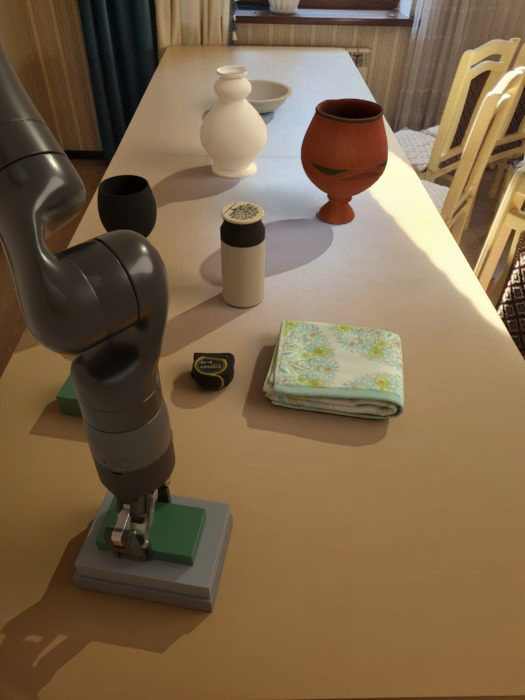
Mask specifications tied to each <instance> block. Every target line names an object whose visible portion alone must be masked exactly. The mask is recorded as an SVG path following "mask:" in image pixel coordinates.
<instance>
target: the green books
mask: <svg viewBox="0 0 525 700" xmlns="http://www.w3.org/2000/svg"><path fill="white" fill-rule="evenodd" d="M55 398H56V400H57V404H58V409H59V411H60V414H61V415H68V416H74V417H82V418H83V416H82V412H81V409H80V406H79V403H78V400H77V397H76V394H75V391H74V388H73V384H72V381H71V375H70V374H69V375H68V377H67V378H66V379H65V382H63V385H62V386H61V388H60V389H59V390H58V392H57V394H56V396H55Z"/></svg>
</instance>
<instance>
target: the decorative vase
mask: <svg viewBox="0 0 525 700" xmlns="http://www.w3.org/2000/svg"><path fill="white" fill-rule="evenodd" d="M216 74H217V76H219V77H218V78H217V79H216V80H215V82H214V84H213V91H214V93H215V94H216V96H218V98H219V100H218V101H217V102H216V103H214V105H213V106H212V107H211V108H210V109H209V111H208V112H207V114H206V115H205V117H204V119H203V120H202V123H201V126H200V130H199V140H200V143H201V146H202V148H203V150H205V152H206V153H207V154H208V156H209V157H210V158H211V159H212V160H213V161H214V162H213V163H212V164H211V172H212V173H213V174H215V175H216V176H218V177H222V178H225V179H243V178H248V177H250V176H252V175H254V174H255V173H257V171H258V165H257V163H256V162H255V160H256V159H257V158H258V156H259V155H260V154H261V153H262V152H263V150H264V149H265V147H266V144H267V142H268V128H267V126H266V123H265V121H264V119H263V118H262V116H261V114H260V113H258V112H257V111H256V109H255V108H254V107H253V106H252V105H251V104H250V103H249V102H248V101H247V100H246V99H245V98H246V97H247V96H248V95H249V93H250V92H251V84H250V82H249V81H248V80H249V79H247V78H246V77H245V76H247V75H248V68H246V67H244V66H241V65H224V66H220V67H218V68H216Z"/></svg>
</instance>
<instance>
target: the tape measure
mask: <svg viewBox="0 0 525 700" xmlns="http://www.w3.org/2000/svg"><path fill="white" fill-rule="evenodd" d="M192 357H193V358H192V359H193V360H192V361H193V362H192V367H191V371H190V378H191V380H192V381H194V383H195V384H196V385H197V386H198V387H199V388H200V389H204V390H207V391H217V390H220V389H221V390H222V389H224V388H226V387H228V386H229V385H230V384H231V383H232V382H233V380H234V377H235V362H236V359H235V355H234V354H233V353H231V352H193V356H192Z"/></svg>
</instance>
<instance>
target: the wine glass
mask: <svg viewBox="0 0 525 700" xmlns="http://www.w3.org/2000/svg"><path fill="white" fill-rule="evenodd" d="M96 199H97V200H96V201H97V202H96V203H97V205H96V206H97V213H98V217H99V220H100V222H101V225H102V226H103V228H104V230H105V231H106V233H107V232H110V231H115V230H119V229H124V230H131V231H134V232H137V233H139V234H141V235H142V236H144V237H145V238H146V239H148V237H149V236H150V234H152V232H153V230H154V228H155V226H156V222H157V218H158V217H157V216H158V208H157V201H156V198H155V196H154V193H153V190H152V187H151V185H150V183H149V181H148V179H146V178H145V177H142V176H140V175H136V174H119V175H113V176H110V177H108V178H105V179H103V180H102V181H101V182H100V183H99V184H98V187H97V197H96Z"/></svg>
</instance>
